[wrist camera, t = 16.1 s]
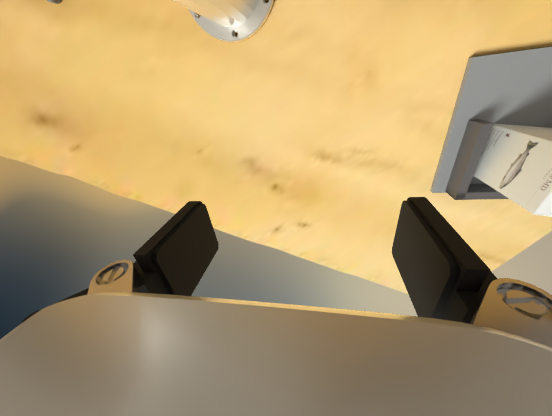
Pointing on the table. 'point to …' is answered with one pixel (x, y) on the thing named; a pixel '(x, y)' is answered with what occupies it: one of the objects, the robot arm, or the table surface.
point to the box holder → (492, 114)
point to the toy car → (55, 1)
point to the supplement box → (519, 165)
